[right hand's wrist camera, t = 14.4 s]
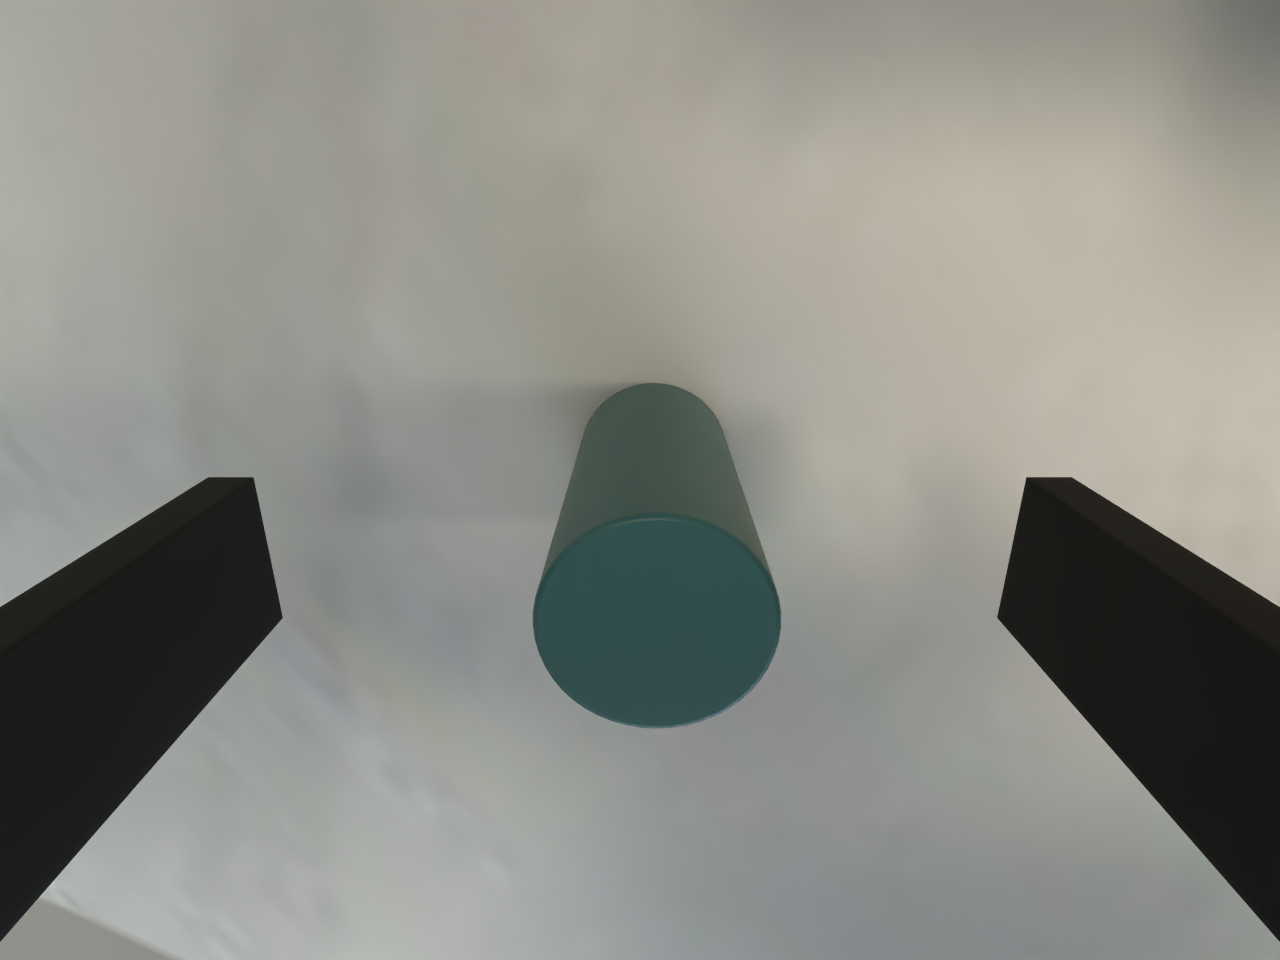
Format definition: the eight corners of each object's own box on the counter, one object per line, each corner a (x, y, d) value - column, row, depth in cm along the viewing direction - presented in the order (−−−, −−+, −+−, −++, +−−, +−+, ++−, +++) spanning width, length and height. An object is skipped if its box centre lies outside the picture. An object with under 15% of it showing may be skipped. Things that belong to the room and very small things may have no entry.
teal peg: (729, 382, 17) (791, 514, 10) (722, 519, 18) (774, 732, 11) (579, 381, 17) (524, 514, 10) (583, 519, 18) (538, 730, 11)
